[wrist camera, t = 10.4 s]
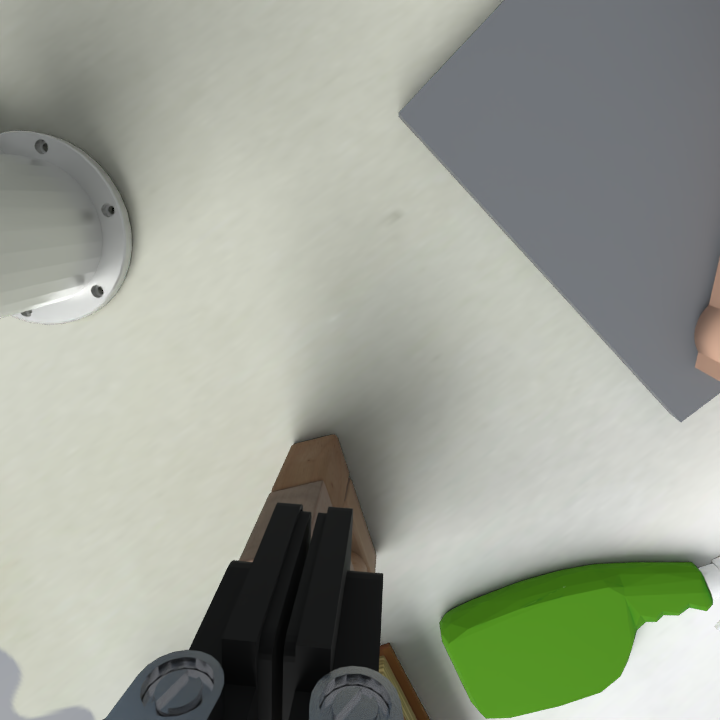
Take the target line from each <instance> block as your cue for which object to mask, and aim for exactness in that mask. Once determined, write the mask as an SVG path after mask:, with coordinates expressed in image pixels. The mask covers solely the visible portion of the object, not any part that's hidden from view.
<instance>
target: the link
mask: <svg viewBox="0 0 720 720" xmlns="http://www.w3.org/2000/svg"><path fill="white" fill-rule="evenodd" d="M694 340H695V345H696V348H697V350H698V355H697V360H696V364H695V368H697V369H699V370H701V371H702V372H704V373H706V374H708V375H709V376H711V377H713V378H715V379H716V380H718V381H720V258H719V262H718V267H717V271H716V276H715V280H714V284H713V289H712V293H711V298H710V302H709V305H708V307H707V308H706V309H705V310H704V311H703V312H702V314H701V315H700V317H699V319H698V321H697V324H696V327H695V333H694Z"/></svg>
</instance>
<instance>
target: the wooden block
mask: <svg viewBox="0 0 720 720" xmlns="http://www.w3.org/2000/svg"><path fill="white" fill-rule="evenodd" d="M278 502H280V503H292V504H302V505H303V511H307V512H311V538H312V534H313V530H314V526H315V523H316V519H317V515H318V513H327V510H328V507H341V508H353V527H352V546H351V565H350V571H360V572H372V573H375V567H376V553H375V550H374V547H373V544H372V541H371V537H370V534H369V531H368V528H367V525H366V522H365V519H364V516H363V513H362V510H361V507H360V504H359V501H358V498H357V495H356V492H355V489H354V486H353V483H352V480H351V479H350V478H349V470H348V467H347V464H346V461H345V458H344V455H343V452H342V449H341V446H340V443H339V440H338V437H337V436H336V435H333V434H332V435H328V436H324V437H320V438H316V439H312V440H308V441H304V442H300V443H296V444H294V445H292V446H291V448H290V451H289V453H288V455H287V457H286V459H285V462H284V464H283V466H282V468H281V470H280V473H279V475H278V477H277V479H276V481H275V484H274V486H273V488H272V493H270V494H269V496H268V498H267V500H266V502H265V505H264V507H263V509H262V511H261V513H260V515H259V518H258V520H257V522H256V524H255V526H254V529H253V531H252V533H251V535H250V537H249V540H248V542H247V544H246V546H245V548H244V551H243V553H242V555H241V557H240V559H239V561H247V562H253V560H254V557H255V555H256V553H257V550H258V548H259V545H260V543H261V540H262V538H263V535H264V533H265V530H266V528H267V526H268V523H269V521H270V518H271V516H272V513H273V511H274V508H275V506H276V504H277V503H278Z"/></svg>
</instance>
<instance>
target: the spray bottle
mask: <svg viewBox="0 0 720 720" xmlns="http://www.w3.org/2000/svg"><path fill="white" fill-rule="evenodd" d="M717 598H720V556H719V557H717V558H715V559H713V560H712V564H709V565H705V566H702V567H699V568H697V567H696V566H695V565H694V564H693V563H692V562H630V563H607V564H592V565H587V566H581V567H575V568H570V569H564V570H560V571H556V572H552V573H548V574H544V575H541V576H537V577H533V578H530V579H526V580H523V581H520V582H517V583H514V584H511V585H509V586H506V587H504V588H501V589H498V590H496V591H493V592H491V593H488V594H486V595H483V596H481V597H478V598H475V599H473V600H471V601H468V602H466V603H464V604H462V605H460V606H458V607H456V608H454V609H452V610H450V611H449V612H447V613H446V614H445V615H444V617H443V618H442V620H441V621H440V630H441V637H442V642H443V644H444V646H445V648H446V650H447V653H448V655H449V657H450V659H451V661H452V663H453V665H454V667H455V669H456V671H457V673H458V676H459V678H460V680H461V682H462V684H463V686H464V688H465V690H466V692H467V694H468V696H469V698H470V701H471V702H472V704H473V705H474V706H475V707H476V708H477V709H478V711H479V712H480V713H481V714H482V715H483V716H484V717H485V718H511V717H516V716H520V715H524V714H528V713H532V712H537V711H541V710H545V709H549V708H553V707H558V706H561V705H564V704H567V703H570V702H573V701H576V700H579V699H582V698H585V697H588V696H591V695H594V694H597V693H600V692H602V691H603V690H604V689H606V688H607V687H608V686H609V685H610V684H612V683H613V682H614V681H615V680H617V679H618V678H619V677H620V676H621V674H622V672H623V670H624V668H625V666H626V664H627V662H628V659H629V656H630V653H631V649H632V646H633V642H634V639H635V635H636V631H637V629H639V628H640V627H641V626H642V625H643V624H644V623H645V622H657V621H658V620H659V619H660V618H661V617H662V616H663V615H680V614H681V613H683V612H684V611H685V610H687V609H688V608H694V609H699V610H704V611H707V610H708V609H709V608H710V607H711V606H712V605H713V600H714V599H717ZM715 628H716V629H717V630H719V631H720V620H719V621H718V622H717V624H716V625H715Z"/></svg>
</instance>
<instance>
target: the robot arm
mask: <svg viewBox="0 0 720 720" xmlns="http://www.w3.org/2000/svg"><path fill="white" fill-rule="evenodd" d="M47 145H48V150H47ZM112 207H114V211H115V212H114V213H113V212H112ZM131 251H132V236H131V226H130V222H129V217H128V213H127V210H126V207H125V205H124V202H123V200H122V197H121V195H120V193H119V191H118V190H117V188H116V186H115V185H114V183H113V182H112V180H111V178H110V177H109V176H108V174H107V173H106V172H105V171H104V170H103V169H102V168H101V166H100V165H99V164H98V163H97V162H96V161H95V160H94V159H92V158H91V157H90V156H89V155H87V154H86V153H85V152H84V151H83V150H81V149H80V148H78V147H76V146H74V145H72V144H71V143H69V142H67V141H65V140H63V139H60V138H57V137H54V136H51V135H48V134H43V133H37V132H32V131H8V132H3V133H0V319H1V318H4V317H7V316H12V317H15V318H18V319H21V320H24V321H27V322H30V323H37V324H44V325H52V324H64V323H68V322H72V321H76V320H79V319H81V318H84V317H86V316H89V315H91V314H93V313H94V312H96V311H97V310H99V309H100V308H102V307H104V306H105V305H106V304H107V303H108V302H109V301H110V300H111V299H112V298H113V297H114V296H115V294H116V293H117V291H118V290H119V288H120V286H121V285H122V283H123V281H124V279H125V276H126V273H127V271H128V268H129V265H130V258H131ZM101 287H102V289H103V292H104V293H103V292H102V291H101ZM352 527H353V508H341V507H328V510H327V513H318V515H317V519H316V523H315V526H314V530H313V534H312V538H311V512H307V511H303V505H302V504H292V503H280V502H278V503H277V504H276V506H275V508H274V511H273V513H272V516H271V518H270V521H269V523H268V526H267V528H266V530H265V533H264V535H263V538H262V540H261V543H260V545H259V548H258V550H257V553H256V555H255V557H254V560H253V562H247V561H235V560H233V561H232V562H231V563H230V564H229V566H228V568H227V570H226V572H225V574H224V576H223V579H222V581H221V583H220V585H219V587H218V589H217V591H216V593H215V596H214V598H213V600H212V602H211V604H210V606H209V608H208V610H207V613H206V615H205V617H204V619H203V621H202V623H201V625H200V627H199V630H198V632H197V634H196V636H195V638H194V640H193V642H192V644H191V647H190V649H189V650H184V651H177V652H172V653H169V654H167V655H164V656H162V657H159V658H158V659H156V660H155V661H153V662H152V663H150V664H148V665H147V666H146V667H145V668H144V669H143V670H142V671H141V672H140V673H139V674H138V676H137V677H136V678H135V680H134V681H133V682H132V684H131V685H130V686H129V688H128V689H127V690H126V692H125V693H124V694H123V696H122V697H121V698H120V700H119V701H118V702H117V704H116V705H115V706H114V708H113V709H112V710H111V712H110V713H109V714H108V716H107V717H106V718H105V719H103V720H404V717H403V711H402V706H401V701H400V698H399V695H398V692H397V690H396V688H395V687H394V686H393V684H392V683H391V682H390V681H389V679H387V678H386V677H384V676H383V675H382V674H380V673H379V657H380V635H381V613H382V591H383V573H372V572H360V571H350V565H351V546H352Z"/></svg>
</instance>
